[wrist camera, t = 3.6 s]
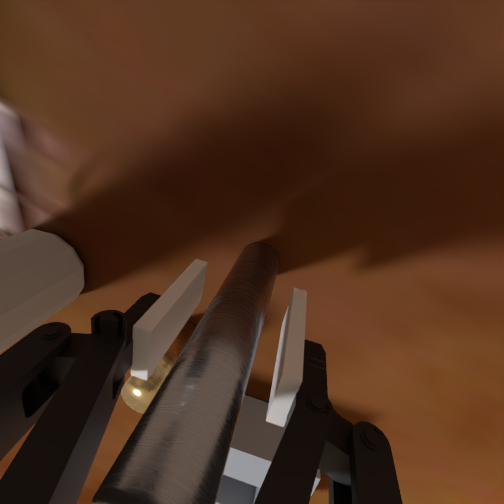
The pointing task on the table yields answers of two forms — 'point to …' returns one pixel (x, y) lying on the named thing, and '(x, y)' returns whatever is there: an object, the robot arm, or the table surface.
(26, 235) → the water bottle
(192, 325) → the short pin
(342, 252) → the table surface
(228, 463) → the socket block
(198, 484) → the long pin
